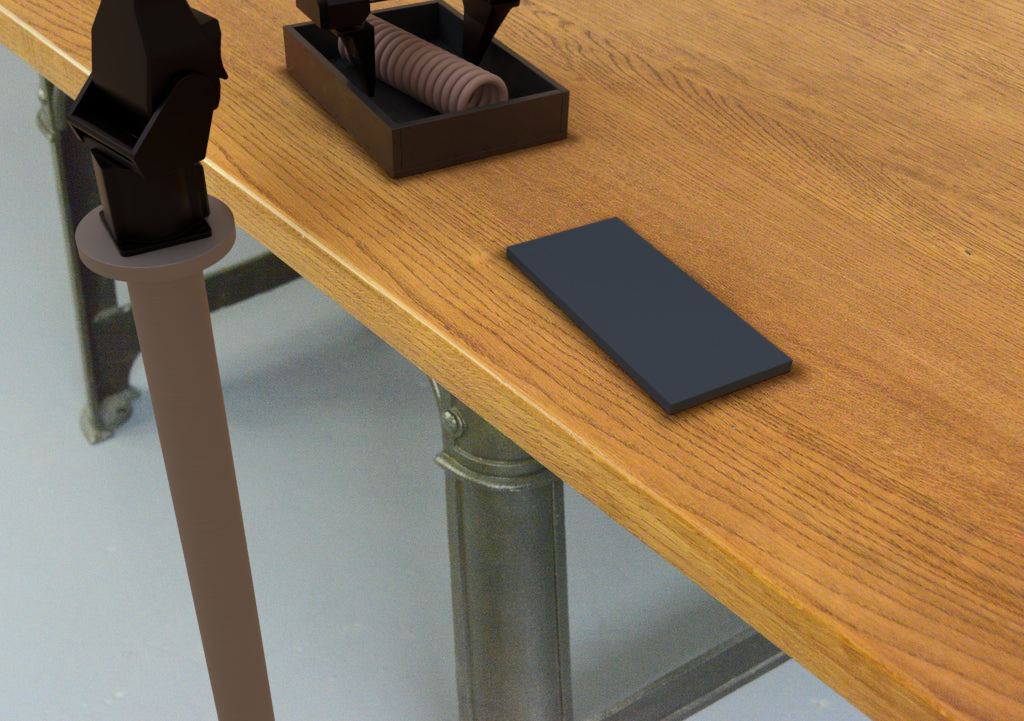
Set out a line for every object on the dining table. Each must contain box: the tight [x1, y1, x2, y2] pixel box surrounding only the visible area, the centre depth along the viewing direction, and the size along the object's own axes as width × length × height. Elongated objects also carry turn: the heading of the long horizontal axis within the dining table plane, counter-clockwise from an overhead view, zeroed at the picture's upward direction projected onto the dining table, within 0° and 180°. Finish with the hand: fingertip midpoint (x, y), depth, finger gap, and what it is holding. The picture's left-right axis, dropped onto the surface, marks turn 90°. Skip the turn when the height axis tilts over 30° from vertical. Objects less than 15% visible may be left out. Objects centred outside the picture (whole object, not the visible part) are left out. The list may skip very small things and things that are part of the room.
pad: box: [505, 216, 794, 416], centre depth 74 cm, size 9×19×1 cm, turn 30°
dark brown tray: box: [282, 0, 571, 180], centre depth 96 cm, size 15×22×4 cm
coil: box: [338, 14, 508, 114], centre depth 96 cm, size 5×5×18 cm
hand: (419, 85), depth 96 cm, fingers open, 9 cm apart
